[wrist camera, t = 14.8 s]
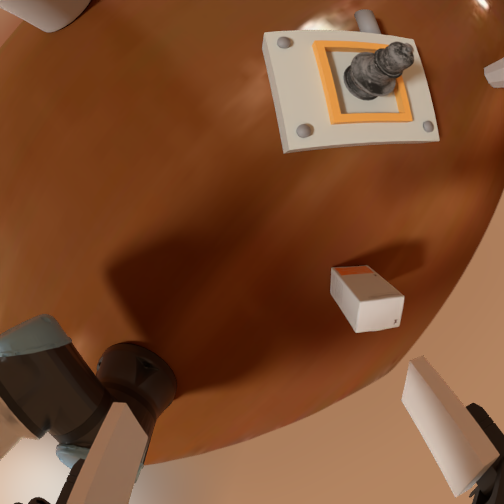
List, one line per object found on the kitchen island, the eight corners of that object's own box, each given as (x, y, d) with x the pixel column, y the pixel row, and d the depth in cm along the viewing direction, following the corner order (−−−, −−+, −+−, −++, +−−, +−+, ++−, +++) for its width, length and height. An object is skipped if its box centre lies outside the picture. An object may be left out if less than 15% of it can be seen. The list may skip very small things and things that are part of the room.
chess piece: (368, 57, 27) (413, 19, 15) (390, 95, 28) (445, 70, 17) (332, 68, 27) (370, 26, 16) (355, 108, 29) (405, 82, 17)
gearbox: (283, 153, 35) (291, 148, 29) (255, 22, 29) (257, -1, 23) (420, 143, 34) (445, 140, 28) (389, 25, 29) (407, 9, 23)
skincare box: (367, 263, 39) (406, 295, 28) (365, 290, 40) (400, 328, 29) (329, 266, 39) (359, 301, 28) (328, 293, 40) (355, 335, 29)
